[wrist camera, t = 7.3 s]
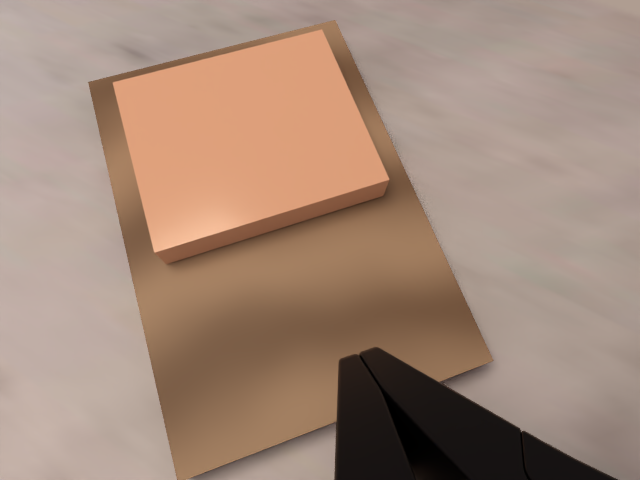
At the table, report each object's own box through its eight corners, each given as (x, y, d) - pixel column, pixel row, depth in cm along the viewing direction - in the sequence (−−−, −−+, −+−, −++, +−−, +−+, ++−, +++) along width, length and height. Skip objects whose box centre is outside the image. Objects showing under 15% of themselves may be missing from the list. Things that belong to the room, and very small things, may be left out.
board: (479, 363, 20) (493, 361, 18) (188, 476, 18) (177, 482, 16) (333, 41, 25) (334, 20, 24) (101, 101, 23) (88, 82, 22)
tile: (389, 179, 19) (322, 29, 21) (154, 252, 17) (112, 82, 20) (383, 196, 20) (320, 55, 23) (167, 265, 19) (126, 105, 22)
